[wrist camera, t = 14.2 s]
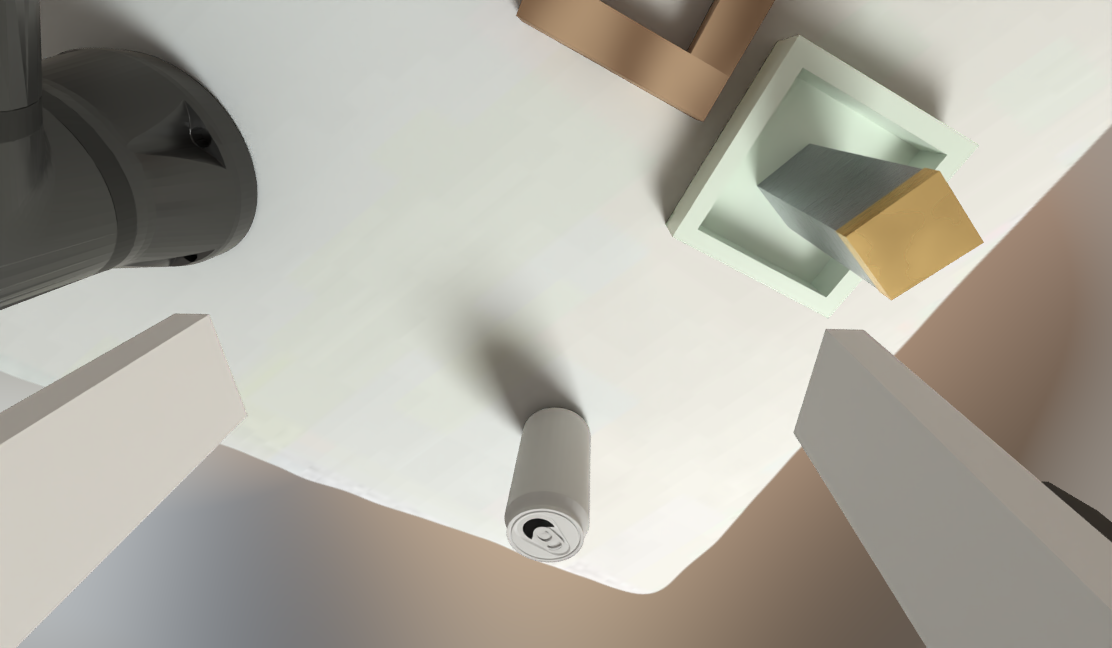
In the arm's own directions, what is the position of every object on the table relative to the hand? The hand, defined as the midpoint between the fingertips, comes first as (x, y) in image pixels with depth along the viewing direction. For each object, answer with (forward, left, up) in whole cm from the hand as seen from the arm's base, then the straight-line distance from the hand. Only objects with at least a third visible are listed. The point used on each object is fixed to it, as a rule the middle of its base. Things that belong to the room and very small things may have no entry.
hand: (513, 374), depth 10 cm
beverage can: (+9, -21, -26) cm, 35 cm away
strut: (+14, +7, -25) cm, 30 cm away
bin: (+14, +7, -26) cm, 31 cm away
